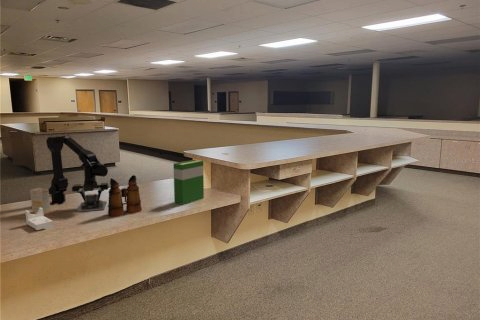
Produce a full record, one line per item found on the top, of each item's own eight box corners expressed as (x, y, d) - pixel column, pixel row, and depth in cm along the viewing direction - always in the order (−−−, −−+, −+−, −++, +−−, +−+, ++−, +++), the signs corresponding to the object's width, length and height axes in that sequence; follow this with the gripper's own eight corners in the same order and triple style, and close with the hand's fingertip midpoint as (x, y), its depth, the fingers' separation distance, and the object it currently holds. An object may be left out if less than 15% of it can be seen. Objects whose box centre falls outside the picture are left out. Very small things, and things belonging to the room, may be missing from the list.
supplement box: (51, 212, 185) (49, 189, 183) (43, 214, 180) (41, 191, 178) (39, 210, 188) (37, 187, 185) (32, 213, 183) (29, 189, 181)
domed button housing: (84, 205, 190) (84, 196, 189) (86, 202, 195) (85, 193, 195) (97, 204, 192) (97, 195, 191) (99, 201, 197) (98, 193, 196)
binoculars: (111, 218, 176) (108, 180, 173) (105, 214, 183) (103, 178, 179) (144, 211, 188) (142, 176, 185) (138, 207, 194) (136, 173, 191)
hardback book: (195, 196, 218) (194, 159, 214) (203, 198, 214) (203, 160, 209) (174, 202, 204) (173, 163, 200) (182, 204, 200) (182, 165, 196)
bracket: (26, 225, 166) (25, 210, 165) (42, 221, 171) (40, 207, 170) (37, 232, 158) (35, 216, 157) (53, 227, 163) (51, 212, 162)
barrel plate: (76, 211, 186) (76, 207, 185) (81, 204, 199) (81, 200, 199) (103, 210, 189) (103, 205, 189) (106, 202, 202) (106, 198, 202)
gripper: (68, 179, 181) (70, 207, 183) (105, 177, 185) (107, 204, 188) (73, 174, 191) (75, 201, 194) (108, 173, 196) (109, 199, 199)
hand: (91, 201), depth 193 cm, fingers closed on domed button housing, 7 cm apart
